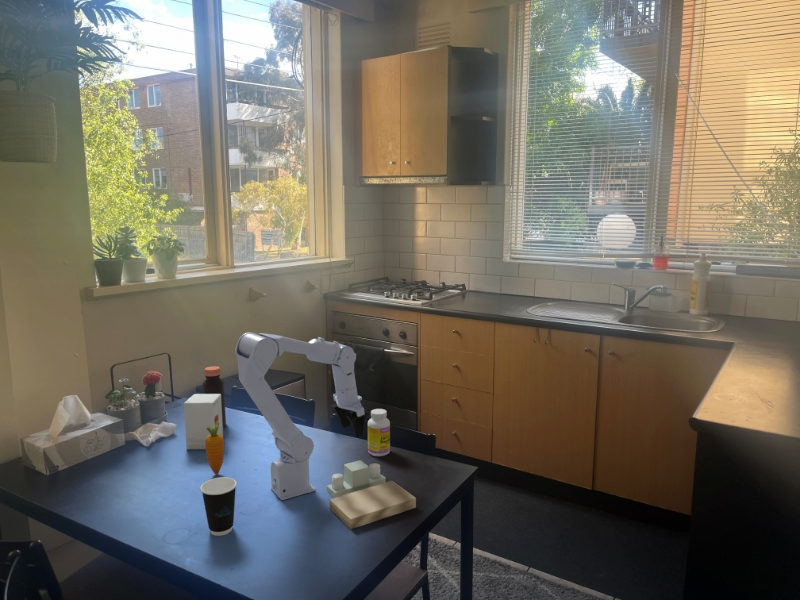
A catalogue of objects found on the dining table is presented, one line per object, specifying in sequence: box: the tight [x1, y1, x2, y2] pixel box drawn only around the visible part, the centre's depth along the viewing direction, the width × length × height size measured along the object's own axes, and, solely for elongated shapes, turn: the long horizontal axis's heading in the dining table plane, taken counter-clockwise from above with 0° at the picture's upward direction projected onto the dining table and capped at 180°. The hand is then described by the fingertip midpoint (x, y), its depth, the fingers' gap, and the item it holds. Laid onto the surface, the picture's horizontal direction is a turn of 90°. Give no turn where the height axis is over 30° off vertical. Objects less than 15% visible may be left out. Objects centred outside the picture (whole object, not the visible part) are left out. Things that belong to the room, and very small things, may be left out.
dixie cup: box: [199, 476, 238, 537], centre depth 135 cm, size 8×8×11 cm
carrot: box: [205, 421, 225, 476], centre depth 163 cm, size 5×5×15 cm
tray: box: [326, 459, 387, 498], centre depth 156 cm, size 15×5×6 cm, turn 123°
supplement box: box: [183, 393, 224, 450], centre depth 184 cm, size 9×9×15 cm
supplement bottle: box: [367, 408, 391, 457], centre depth 177 cm, size 7×7×13 cm
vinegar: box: [202, 365, 227, 427], centre depth 198 cm, size 7×7×20 cm
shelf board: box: [328, 480, 417, 530], centre depth 145 cm, size 18×11×2 cm, turn 123°
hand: (352, 431), depth 166 cm, fingers open, 7 cm apart
